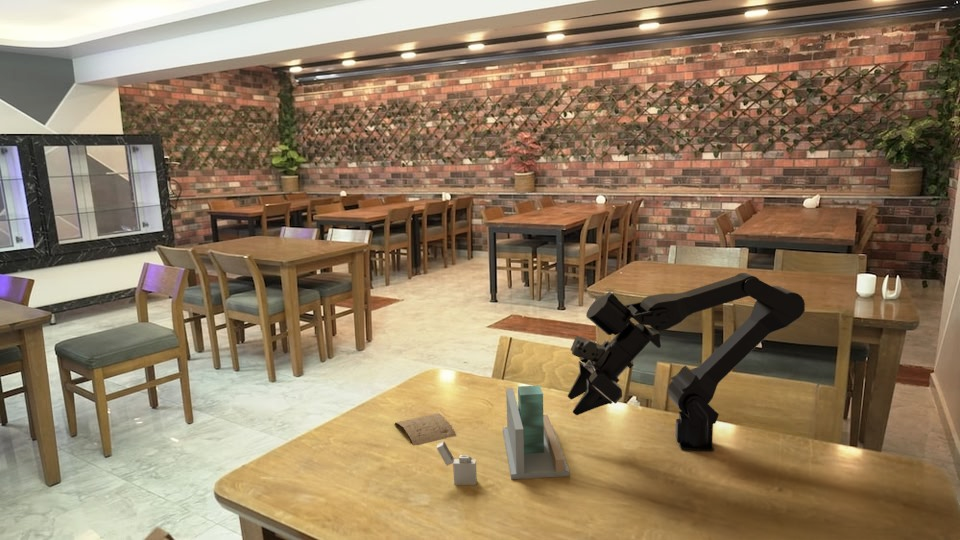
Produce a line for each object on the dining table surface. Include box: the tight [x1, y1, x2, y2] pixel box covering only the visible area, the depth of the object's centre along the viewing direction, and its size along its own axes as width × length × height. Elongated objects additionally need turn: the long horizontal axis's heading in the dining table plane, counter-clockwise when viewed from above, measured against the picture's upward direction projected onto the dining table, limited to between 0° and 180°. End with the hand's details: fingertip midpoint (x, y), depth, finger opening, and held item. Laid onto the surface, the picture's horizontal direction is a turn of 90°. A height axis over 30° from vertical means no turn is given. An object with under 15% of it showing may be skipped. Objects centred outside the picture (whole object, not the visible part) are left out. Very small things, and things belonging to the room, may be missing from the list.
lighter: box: [436, 440, 478, 486], centre depth 114 cm, size 7×2×8 cm, turn 85°
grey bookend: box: [502, 387, 570, 480], centre depth 124 cm, size 11×20×10 cm, turn 2°
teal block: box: [517, 385, 544, 454], centre depth 123 cm, size 4×4×12 cm
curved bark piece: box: [396, 412, 457, 446], centre depth 137 cm, size 14×10×3 cm
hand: (571, 405), depth 123 cm, fingers open, 9 cm apart
